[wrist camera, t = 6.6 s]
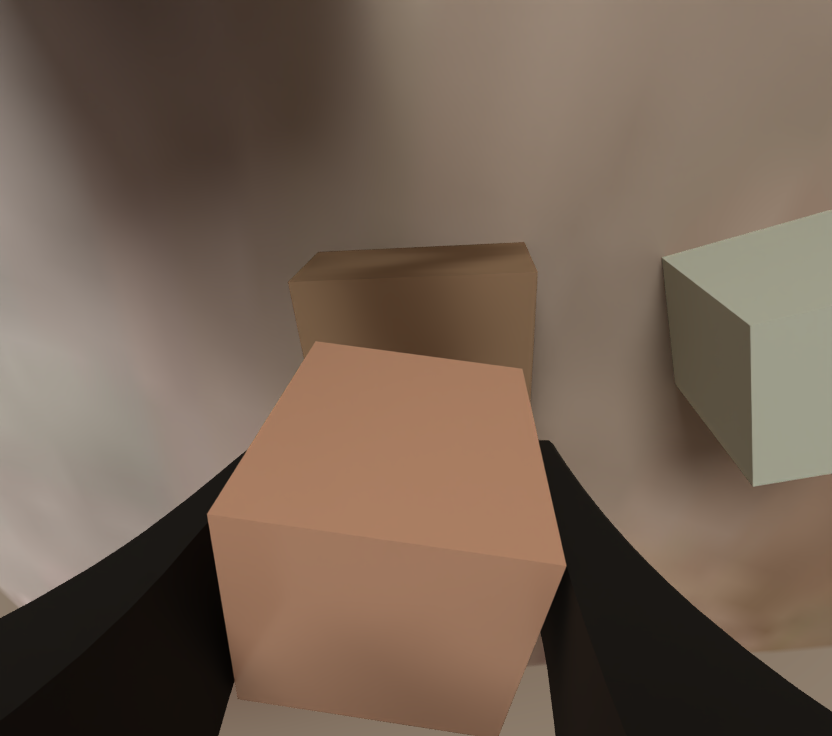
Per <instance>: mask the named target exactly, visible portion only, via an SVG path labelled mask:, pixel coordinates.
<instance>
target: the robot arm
mask: <svg viewBox="0 0 832 736" xmlns="http://www.w3.org/2000/svg"><path fill="white" fill-rule="evenodd" d="M538 441H539V445H540V450H541V454H542V459H543V463H544V468H545V472H546V477H547V481H548V486H549V490H550V495H551V499H552V503H553V508H554V512H555V517H556V521H557V526H558V530H559V535H560V539H561V544H562V548H563V553H564V557H565V562H566V568H565V571H564V573H563V576H562V578H561V581H560V583H559V586H558V588H557V591H556V593H555V596H554V598H553V601H552V603H551V606H550V608H549V611H548V613H547V616H546V618H545V621H544V623H543V626H542V628H541V631H540V632H541V637H542V642H543V646H544V652H545V658H546V664H547V669H548V677H549V685H550V693H551V702H552V709H553V718H554V726H555V735H556V736H832V712H831V711H830V710H829V709H827V708H825V707H824V706H823V705H821V704H820V703H818V702H817V701H815V700H814V699H813V698H811V697H810V696H808V695H807V694H805V693H804V692H802V691H801V690H799V689H798V688H797V687H795V686H794V685H793V684H791V683H790V682H788V681H787V680H786V679H784V678H783V677H782V676H781V675H779V674H778V673H777V672H775V671H774V670H772V669H771V668H770V667H769V666H767V665H766V664H765V663H763V662H762V661H761V660H759V659H758V658H757V657H755V656H754V655H753V654H751V653H750V652H749V651H747V650H746V649H745V648H744V647H742V646H741V645H740V644H739V643H738V642H736V641H735V640H734V639H733V638H732V637H730V636H729V635H728V634H727V633H726V632H724V631H723V630H722V629H721V628H720V627H718V626H717V625H716V624H715V623H714V622H712V621H711V620H710V619H709V618H708V617H706V616H705V615H704V614H703V613H702V612H700V611H699V610H698V609H697V608H696V607H694V606H693V605H692V604H691V603H690V602H689V601H688V600H687V599H686V598H685V597H683V596H682V595H681V594H680V593H679V592H678V591H677V590H676V589H675V588H674V587H673V586H671V585H670V584H669V583H668V582H667V581H666V580H665V579H664V578H663V577H662V576H661V575H660V574H659V573H658V572H657V571H656V570H655V569H654V568H653V567H652V566H651V565H650V564H649V563H648V562H647V561H646V560H645V559H644V558H643V557H642V556H641V555H640V554H639V553H638V552H637V551H636V550H635V549H634V548H633V546H632V545H631V544H630V543H629V542H628V541H627V540H626V539H625V538H624V537H623V535H622V534H621V533H620V532H619V531H618V530H617V529H616V528H615V527H614V525H613V524H612V523H611V522H610V521H609V519H608V518H607V517H606V516H605V515H604V514H603V512H602V511H601V510H600V509H599V507H598V506H597V505H596V504H595V502H594V501H593V500H592V499H591V497H590V496H589V495H588V494H587V492H586V491H585V490H584V488H583V487H582V486H581V484H580V483H579V482H578V480H577V479H576V477H575V476H574V475H573V473H572V472H571V471H570V469H569V468H568V466H567V465H566V463H565V462H564V460H563V459H562V457H561V456H560V454H559V453H558V451H557V450H556V448H555V446H554V445H553V444H552V443H551V442H550V441H549V440H538ZM246 451H247V450H246ZM246 451H245V452H244V453H243V454H241V455H240V456H239V457H238V458H237V459H235V460H234V461H233V462H232V463H231V464H229V465H228V466H227V467H226V468H225V469H223V470H222V471H221V472H220V473H219V474H217V475H216V476H215V477H214V478H212V479H211V480H210V481H209V482H208V483H206V484H205V485H204V486H203V487H201V488H200V489H199V490H198V491H197V492H195V493H194V494H193V495H192V496H190V497H189V498H188V499H187V500H185V501H184V502H183V503H181V504H180V505H179V506H177V507H176V508H175V509H174V510H172V511H171V512H170V513H168V514H167V515H166V516H164V517H163V518H162V519H160V520H159V521H158V522H156V523H155V524H154V525H152V526H151V527H150V528H148V529H147V530H146V531H144V532H143V533H141V534H140V535H139V536H137V537H136V538H134V539H133V540H131V541H130V542H129V543H127V544H126V545H124V546H123V547H121V548H120V549H118V550H117V551H115V552H114V553H112V554H110V555H109V556H107V557H106V558H104V559H103V560H101V561H100V562H98V563H97V564H95V565H93V566H92V567H90V568H89V569H87V570H85V571H84V572H82V573H80V574H78V575H77V576H75V577H73V578H72V579H70V580H68V581H66V582H65V583H63V584H61V585H59V586H58V587H56V588H54V589H53V590H51V591H49V592H47V593H46V594H44V595H42V596H41V597H39V598H37V599H35V600H34V601H32V602H30V603H28V604H26V605H24V606H22V607H21V608H19V609H17V610H15V611H13V612H11V613H9V614H7V615H6V616H3V617H2V618H0V736H218V735H219V731H220V728H221V724H222V721H223V717H224V714H225V710H226V707H227V703H228V700H229V696H230V693H231V690H232V687H233V684H234V681H235V679H234V673H233V667H232V661H231V655H230V649H229V643H228V637H227V631H226V625H225V619H224V613H223V607H222V601H221V595H220V589H219V583H218V577H217V571H216V565H215V559H214V553H213V547H212V541H211V535H210V529H209V523H208V517H207V513H208V512H209V510H210V509H211V507H212V506H213V504H214V502H215V501H216V499H217V498H218V496H219V494H220V493H221V491H222V490H223V488H224V486H225V485H226V483H227V482H228V480H229V478H230V477H231V475H232V474H233V472H234V470H235V469H236V467H237V466H238V464H239V462H240V461H241V459H242V458H243V456H244V455H245V453H246Z"/></svg>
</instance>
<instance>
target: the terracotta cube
mask: <svg viewBox="0 0 832 736" xmlns="http://www.w3.org/2000/svg"><path fill="white" fill-rule="evenodd" d="M207 517H208V523H209V529H210V535H211V541H212V547H213V553H214V559H215V565H216V571H217V577H218V583H219V589H220V595H221V601H222V607H223V613H224V619H225V625H226V631H227V637H228V643H229V649H230V655H231V661H232V667H233V673H234V679H235V685H236V691H237V697H238V699H241V700H247V701H254V702H260V703H266V704H273V705H279V706H286V707H293V708H299V709H306V710H312V711H318V712H325V713H331V714H338V715H345V716H351V717H357V718H364V719H371V720H377V721H383V722H390V723H397V724H402V725H409V726H416V727H422V728H429V729H435V730H441V731H448V732H455V733H462V734H468V735H475V736H499V733H500V731H501V729H502V726H503V724H504V721H505V719H506V716H507V713H508V711H509V708H510V706H511V704H512V701H513V698H514V696H515V694H516V691H517V689H518V686H519V684H520V681H521V678H522V676H523V674H524V671H525V669H526V666H527V664H528V661H529V659H530V656H531V654H532V651H533V649H534V646H535V644H536V641H537V638H538V636H539V633H540V631H541V628H542V626H543V623H544V621H545V618H546V616H547V613H548V611H549V608H550V606H551V603H552V601H553V598H554V596H555V593H556V591H557V588H558V586H559V583H560V581H561V578H562V576H563V573H564V571H565V568H566V562H565V557H564V553H563V548H562V544H561V539H560V535H559V530H558V526H557V521H556V517H555V512H554V508H553V503H552V499H551V495H550V490H549V486H548V481H547V477H546V472H545V468H544V463H543V459H542V454H541V450H540V445H539V441H538V436H537V432H536V427H535V423H534V419H533V414H532V410H531V405H530V401H529V396H528V392H527V387H526V383H525V378H524V374H523V369H520V368H513V367H505V366H498V365H490V364H483V363H475V362H468V361H460V360H453V359H445V358H438V357H430V356H423V355H415V354H408V353H400V352H393V351H385V350H378V349H370V348H363V347H355V346H348V345H340V344H333V343H325V342H318V341H315V343H314V345H313V346H312V348H311V349H310V351H309V353H308V354H307V356H306V357H305V359H304V361H303V362H302V364H301V365H300V367H299V368H298V370H297V372H296V373H295V375H294V376H293V378H292V380H291V381H290V383H289V384H288V386H287V388H286V389H285V391H284V392H283V394H282V396H281V397H280V399H279V400H278V402H277V404H276V405H275V407H274V408H273V410H272V412H271V413H270V415H269V416H268V418H267V419H266V421H265V423H264V424H263V426H262V427H261V429H260V431H259V432H258V434H257V435H256V437H255V439H254V440H253V442H252V443H251V445H250V447H249V448H248V450H247V451H246V453H245V455H244V456H243V458H242V459H241V461H240V462H239V464H238V466H237V467H236V469H235V470H234V472H233V474H232V475H231V477H230V478H229V480H228V482H227V483H226V485H225V486H224V488H223V490H222V491H221V493H220V494H219V496H218V498H217V499H216V501H215V502H214V504H213V506H212V507H211V509H210V510H209V512H208V513H207Z"/></svg>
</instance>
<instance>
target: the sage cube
mask: <svg viewBox="0 0 832 736" xmlns="http://www.w3.org/2000/svg"><path fill="white" fill-rule="evenodd" d="M662 264H663V274H664V283H665V293H666V303H667V312H668V322H669V332H670V341H671V351H672V361H673V371H674V380H675V384H676V386H677V387H678V388H679V390H680V391H681V392H682V394H683V395H684V396H685V398H686V399H687V400H688V402H689V403H690V404H691V406H692V407H693V408H694V410H695V411H696V412H697V413H698V415H699V416H700V417H701V419H702V420H703V421H704V423H705V424H706V425H707V427H708V428H709V429H710V431H711V432H712V433H713V435H714V436H715V437H716V439H717V440H718V441H719V443H720V444H721V445H722V447H723V448H724V449H725V450H726V452H727V453H728V454H729V456H730V457H731V458H732V460H733V461H734V462H735V464H736V465H737V466H738V468H739V469H740V470H741V472H742V473H743V474H744V476H745V477H746V478H747V480H748V481H749V482H750V483H751V485H752V486H753V487H754V486H760V485H766V484H772V483H778V482H784V481H790V480H796V479H802V478H808V477H814V476H820V475H826V474H832V210H828V211H825V212H821V213H818V214H814V215H811V216H807V217H804V218H800V219H797V220H793V221H790V222H786V223H782V224H779V225H775V226H772V227H768V228H765V229H761V230H758V231H754V232H751V233H747V234H743V235H740V236H736V237H733V238H729V239H726V240H722V241H719V242H715V243H712V244H708V245H704V246H701V247H697V248H694V249H690V250H687V251H683V252H680V253H676V254H673V255H669V256H665V257H662Z"/></svg>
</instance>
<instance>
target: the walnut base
mask: <svg viewBox="0 0 832 736" xmlns="http://www.w3.org/2000/svg"><path fill="white" fill-rule="evenodd" d="M537 273H538V272H537V270H536V267H535V265H534V263H533V261H532V258H531V256H530V254H529V252H528V249H527V247H526V245H525V243H524V242H518V243H497V244H477V245H456V246H435V247H414V248H393V249H372V250H351V251H330V252H318V253H317V254H316V255H315V256H314V257H313V258H312V259H311V260H310V261H309V262H308V263H307V264H306V265H305V266H304V267H303V268H302V269H301V270H300V271H299V272H298V273H297V274H296V275H295V276H294V277H293V278H292V279H291V280H290V281H289V282H288V284H289V289H290V294H291V299H292V303H293V308H294V313H295V318H296V323H297V327H298V332H299V337H300V342H301V346H302V351H303V356H304V359H305V357H306V356H307V354H308V353H309V351H310V349H311V348H312V346H313V345H314V343H315V341H318V342H325V343H333V344H340V345H348V346H355V347H363V348H370V349H378V350H385V351H393V352H400V353H408V354H415V355H423V356H430V357H438V358H445V359H453V360H460V361H468V362H475V363H483V364H490V365H498V366H505V367H513V368H520V369H523V374H524V378H525V383H526V387H527V392H528V396H529V401H530V399H531V381H532V363H533V345H534V327H535V309H536V291H537Z"/></svg>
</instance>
